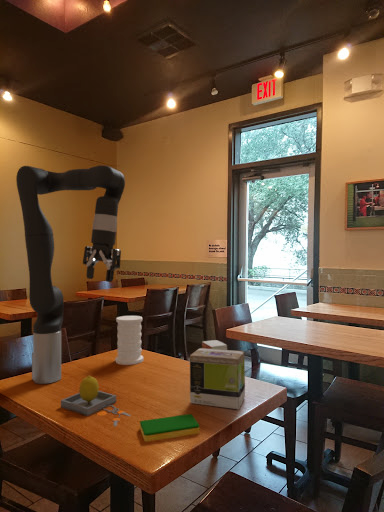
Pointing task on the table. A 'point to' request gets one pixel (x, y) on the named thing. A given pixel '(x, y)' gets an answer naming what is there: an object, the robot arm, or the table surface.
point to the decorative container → (129, 340)
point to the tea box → (217, 378)
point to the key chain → (113, 413)
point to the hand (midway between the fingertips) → (99, 280)
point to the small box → (214, 345)
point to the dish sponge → (169, 427)
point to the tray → (86, 408)
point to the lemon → (89, 389)
